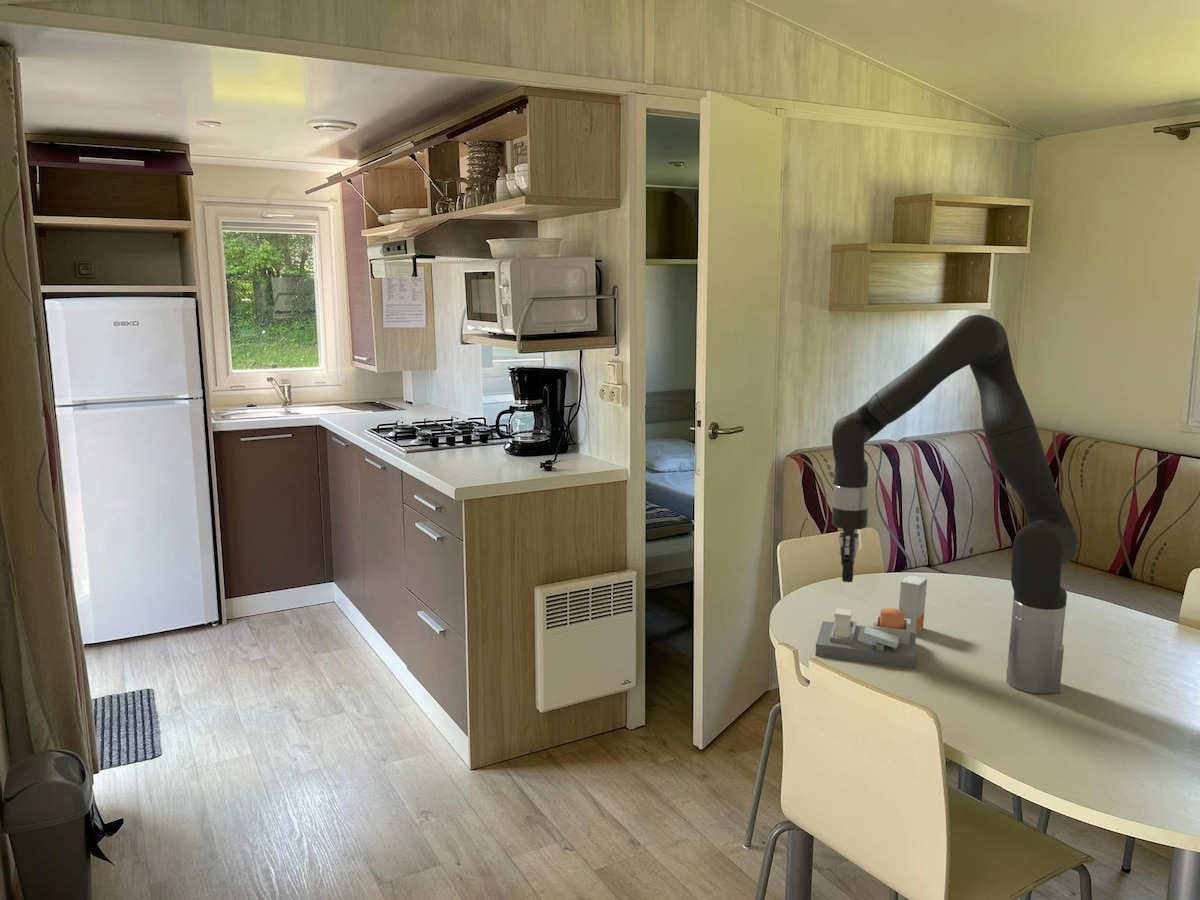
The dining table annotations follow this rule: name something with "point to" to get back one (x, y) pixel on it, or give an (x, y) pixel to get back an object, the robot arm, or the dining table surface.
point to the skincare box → (913, 600)
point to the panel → (868, 644)
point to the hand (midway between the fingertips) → (847, 580)
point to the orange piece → (892, 618)
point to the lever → (842, 623)
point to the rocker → (881, 637)
